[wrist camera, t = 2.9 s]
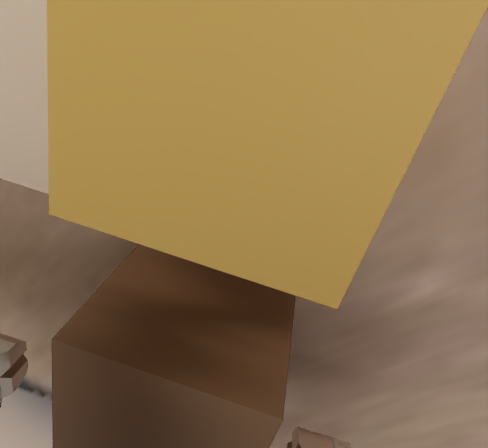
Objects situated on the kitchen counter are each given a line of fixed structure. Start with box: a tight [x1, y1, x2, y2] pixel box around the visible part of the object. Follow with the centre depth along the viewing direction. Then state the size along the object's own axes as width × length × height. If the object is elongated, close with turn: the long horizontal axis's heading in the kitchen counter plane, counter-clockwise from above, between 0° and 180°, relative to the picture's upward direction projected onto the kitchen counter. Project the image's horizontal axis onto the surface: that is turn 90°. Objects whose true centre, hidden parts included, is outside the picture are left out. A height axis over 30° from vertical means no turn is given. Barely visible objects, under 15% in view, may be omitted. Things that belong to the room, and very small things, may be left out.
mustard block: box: [47, 0, 488, 309], centre depth 7 cm, size 5×5×5 cm
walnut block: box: [52, 244, 295, 448], centre depth 11 cm, size 5×5×5 cm
